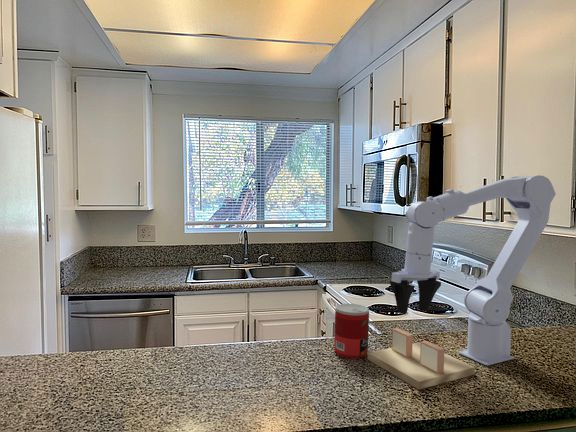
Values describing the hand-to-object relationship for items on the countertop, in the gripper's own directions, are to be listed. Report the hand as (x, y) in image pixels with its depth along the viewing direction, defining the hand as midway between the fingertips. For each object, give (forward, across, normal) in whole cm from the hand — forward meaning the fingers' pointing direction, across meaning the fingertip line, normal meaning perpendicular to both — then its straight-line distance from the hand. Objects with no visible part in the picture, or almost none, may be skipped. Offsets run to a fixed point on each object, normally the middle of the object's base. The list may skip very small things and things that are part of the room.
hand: (413, 311), depth 95 cm
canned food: (+12, +10, -9) cm, 18 cm away
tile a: (+10, +2, 0) cm, 10 cm away
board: (+11, +2, +5) cm, 12 cm away
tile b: (+9, +4, +9) cm, 13 cm away
